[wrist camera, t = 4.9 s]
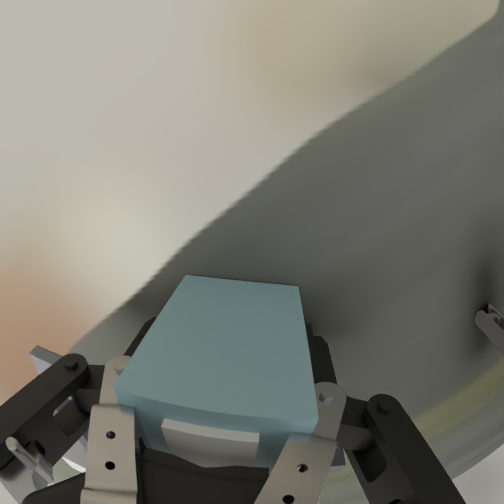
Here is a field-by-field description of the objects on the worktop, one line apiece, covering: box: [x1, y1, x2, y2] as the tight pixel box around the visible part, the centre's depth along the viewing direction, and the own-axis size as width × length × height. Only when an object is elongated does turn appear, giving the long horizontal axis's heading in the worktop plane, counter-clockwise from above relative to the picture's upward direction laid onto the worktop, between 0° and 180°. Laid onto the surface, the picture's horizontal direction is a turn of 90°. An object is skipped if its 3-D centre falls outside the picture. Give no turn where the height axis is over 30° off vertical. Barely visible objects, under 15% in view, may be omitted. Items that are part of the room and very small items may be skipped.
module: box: [113, 275, 319, 475], centre depth 9 cm, size 5×4×7 cm
